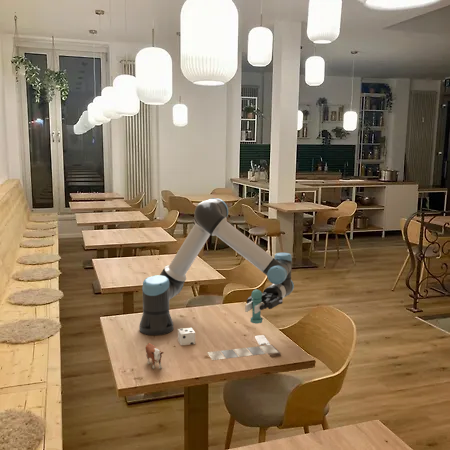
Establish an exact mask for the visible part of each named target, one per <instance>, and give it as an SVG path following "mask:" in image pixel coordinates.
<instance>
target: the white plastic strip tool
mask: <svg viewBox="0 0 450 450" xmlns="http://www.w3.org/2000/svg"><path fill="white" fill-rule="evenodd" d="M254 339H255V340H256V342H257V344H258V345H259V346H264V345H271V344H270V341H269V340H268V338H266V336H265V334H261V335H260V334H258V335H255V336H254Z"/></svg>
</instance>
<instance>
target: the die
mask: <svg viewBox="0 0 450 450" xmlns="http://www.w3.org/2000/svg"><path fill="white" fill-rule="evenodd" d="M177 341H178V343H179V345H180V346H188V345H196V332H195V330H194V328H193V327H185V328H177Z"/></svg>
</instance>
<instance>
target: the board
mask: <svg viewBox="0 0 450 450" xmlns="http://www.w3.org/2000/svg"><path fill="white" fill-rule="evenodd" d="M206 353H207V355H208V356H209V357H210V360H212V361H218V360H225V359H227V360H228V359H234V358H243V357H251V356H258V355H266V354H267V355H269V357H271V358H272V357H279V356H282V355H281V353H282V352H280V351H279V350H278V349H277V348H276V347H275V345H273V344H270V345H266V344H264V345H259V346H258V345H257V346H251V347H250V346H249V347H242V348H232V349H224V350H216V351H215V350H214V351H208V352H206Z"/></svg>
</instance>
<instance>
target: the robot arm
mask: <svg viewBox="0 0 450 450" xmlns="http://www.w3.org/2000/svg"><path fill="white" fill-rule="evenodd" d="M193 215H194V218H193V221H194V225H193V227H192V228H191V229H190V231H189V232H188V234H187V236H186V238H185V239H184V241H183V243H182V244H181V246H180V248H179V249H178V251H177V252H176V254H175V255H174V257H173V259H172V261H171V263H170V264H169V265H165V266H164V267H163V269H162V271H161V273H160V274H159V275H158V274H157V275H152V276H147V277H146V278H145V279H144V280H143V281H142V287H141V288H142V315H141V318H140V323H139V326H138V327H139V331H140V333H142V334H144V335H148V336H162V335H165V334H168V333H171V332H173V330H174V321H173V318H172V316H171V313H170V300H172V299H173V298H174V297H175V296H177V295H179V294H180V293H181V291H182V290H183V288H184V284H185V282H186V280H187V276H186V275H187V272H188V271H189V270H190V268H191V266H192V265H193V263H194V261H195V260H196V258H197V257H198V255H199V253H201V250H203V247H204V246H205V244H206V242H207V241H208V239H209V238H210V236H213V237H214V236H216V238H219V239H220V240H221V241H222V242H223V243H225V244H226V246H229V247H230V248H232V249H233V250H234V251H235V252H236V253H237V254H238V255H240V256H241V257H243V258H244V259H245V260H246V261H248V262H249V263H250V264H252V265H253V266H254V267H255V268H257V270H258V271H261V272H262V273H263V274H264V275H265V276H266V277H267V279H268V281H269V282H270V283H271V285H269V286H267V287H266V288H264V290H263V291H262V297H261V299H262V301H261V303H259V304H258V305H256V306H255V308H254V313H255V314H256V313H258V312H259V311H261V312H262V311H264V310H265V309H268V310H271V309H273V308H275V307H277V306H279V305H282V304H283V302H284V301H283V299H284V298H286V297H287V296H289V295H290V294H291V293H292V292H293V291H294V288H295V284H294V281H293V280H292V266H293V265H292V263H293V259H292V258H293V257H292V254H291V253H289V252H276V253H275V254H274V257H273V256H272V255H270V254H269V253H268V252H267V251H265V250H264V249H263V248H262V247H261V246H259V245H258V244H256V243H255V242H254V241H252V240H251V238H249V237H248V236H246V235H245V234H244V233H243V232H241V231H240V230H239V229H237V228H236V227H235V226H233V225H232V224H231V223H230V222H228V220H227V218H228V216H229V207H228V205H227V203H226V202H225V201H224V200H223V199H221V198H215V197H212V198H209V199H207V200H203V201H201V202H199V203H198V204H197V206H196V207H195V210H194V212H193ZM244 306H245V313H246V312H247V313H248V312H249V311H251V310H252V308H253V301H252V296H251V295H250V296H249V297H248V298H246V304H245V305H244Z"/></svg>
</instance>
